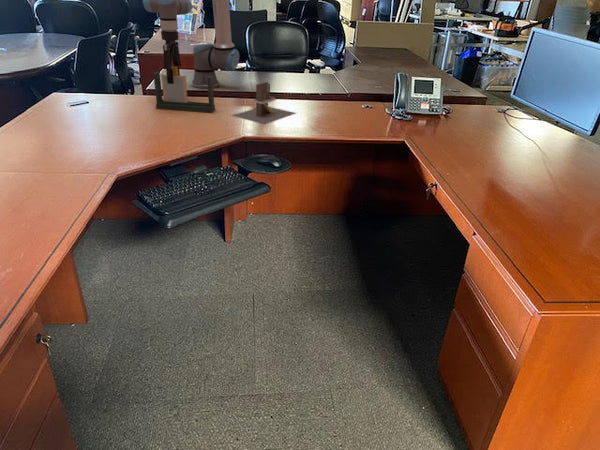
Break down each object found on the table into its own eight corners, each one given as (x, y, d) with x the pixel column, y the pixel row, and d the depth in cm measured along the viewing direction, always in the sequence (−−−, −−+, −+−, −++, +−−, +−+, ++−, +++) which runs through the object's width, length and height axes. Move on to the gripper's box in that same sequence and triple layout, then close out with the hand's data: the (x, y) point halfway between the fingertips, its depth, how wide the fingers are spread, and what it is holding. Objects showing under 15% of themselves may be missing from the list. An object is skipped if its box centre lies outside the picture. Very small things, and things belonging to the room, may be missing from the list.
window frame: (160, 105, 222) (157, 71, 214) (214, 109, 221) (213, 75, 213) (156, 108, 217) (152, 73, 209) (211, 113, 215) (209, 77, 207)
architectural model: (295, 113, 222) (296, 83, 215) (264, 123, 204) (265, 91, 197) (264, 105, 232) (264, 76, 224) (232, 115, 213) (231, 84, 206)
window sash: (165, 101, 219) (161, 65, 211) (188, 103, 219) (185, 67, 210) (163, 102, 217) (159, 66, 209) (186, 104, 216) (183, 68, 208)
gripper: (169, 27, 211) (174, 76, 222) (152, 32, 193) (158, 85, 204) (185, 28, 211) (188, 77, 222) (169, 33, 192) (173, 86, 203)
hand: (173, 81), depth 213 cm, fingers open, 8 cm apart
